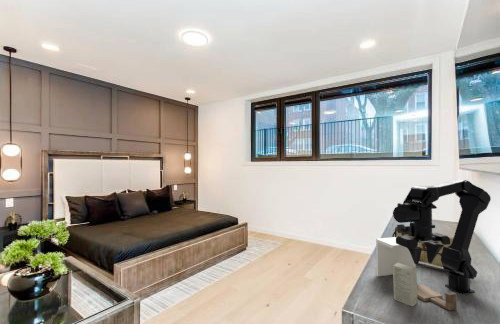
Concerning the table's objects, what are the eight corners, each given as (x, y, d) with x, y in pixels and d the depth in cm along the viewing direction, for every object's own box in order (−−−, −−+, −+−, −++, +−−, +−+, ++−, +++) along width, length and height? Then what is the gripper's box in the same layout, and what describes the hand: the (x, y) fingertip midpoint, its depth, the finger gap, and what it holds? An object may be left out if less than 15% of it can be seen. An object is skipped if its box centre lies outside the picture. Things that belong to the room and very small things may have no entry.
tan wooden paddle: (422, 287, 95) (422, 273, 95) (462, 309, 80) (462, 293, 80) (404, 289, 93) (404, 275, 93) (443, 312, 79) (442, 296, 79)
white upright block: (398, 272, 108) (397, 236, 108) (416, 282, 99) (415, 243, 99) (376, 275, 105) (376, 238, 105) (393, 285, 96) (392, 245, 97)
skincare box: (417, 302, 85) (417, 267, 85) (412, 307, 82) (412, 270, 82) (397, 295, 90) (397, 261, 90) (392, 299, 87) (392, 264, 87)
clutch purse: (389, 257, 125) (388, 228, 125) (394, 254, 130) (394, 225, 130) (465, 278, 102) (465, 242, 103) (469, 273, 107) (468, 239, 107)
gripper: (423, 215, 100) (423, 253, 100) (384, 217, 96) (384, 257, 96) (451, 221, 89) (451, 264, 89) (408, 224, 85) (409, 269, 85)
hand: (422, 263), depth 90 cm, fingers open, 6 cm apart
